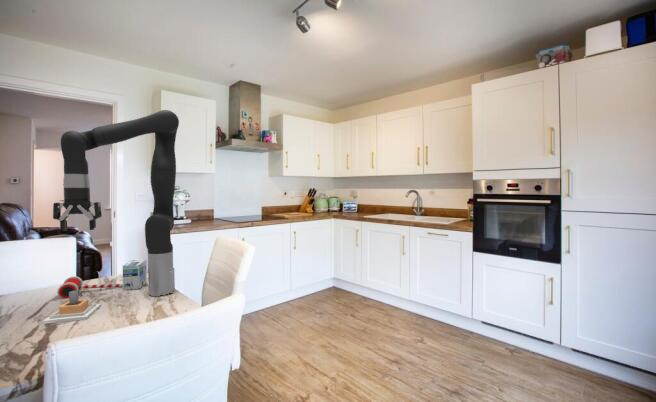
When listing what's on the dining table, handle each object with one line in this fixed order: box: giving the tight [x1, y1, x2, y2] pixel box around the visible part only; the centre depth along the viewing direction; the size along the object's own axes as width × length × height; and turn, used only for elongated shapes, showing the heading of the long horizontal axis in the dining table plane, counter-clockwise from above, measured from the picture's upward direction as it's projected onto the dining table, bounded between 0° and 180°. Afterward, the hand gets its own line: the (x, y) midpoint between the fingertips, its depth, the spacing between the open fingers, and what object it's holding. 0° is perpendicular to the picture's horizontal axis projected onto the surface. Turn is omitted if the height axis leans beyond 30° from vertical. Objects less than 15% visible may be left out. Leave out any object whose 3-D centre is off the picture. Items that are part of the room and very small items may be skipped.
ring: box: [58, 298, 89, 315], centre depth 108 cm, size 6×6×3 cm
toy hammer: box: [57, 275, 123, 300], centre depth 133 cm, size 23×12×6 cm, turn 120°
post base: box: [42, 290, 102, 325], centre depth 108 cm, size 12×12×8 cm
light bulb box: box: [122, 259, 148, 291], centre depth 139 cm, size 11×7×11 cm, turn 16°
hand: (78, 230), depth 116 cm, fingers open, 8 cm apart
